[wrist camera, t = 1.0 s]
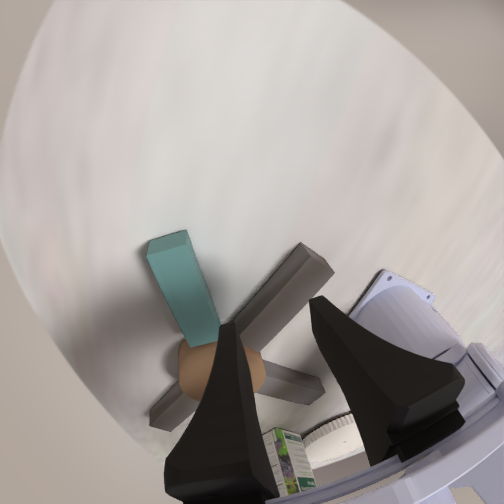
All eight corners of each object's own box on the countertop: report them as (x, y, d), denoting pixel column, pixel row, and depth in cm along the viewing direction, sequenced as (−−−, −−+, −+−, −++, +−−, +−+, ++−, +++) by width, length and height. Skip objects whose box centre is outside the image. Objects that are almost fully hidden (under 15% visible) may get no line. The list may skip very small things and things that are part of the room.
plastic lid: (363, 394, 35) (371, 408, 32) (387, 416, 41) (393, 427, 39) (279, 440, 37) (283, 455, 35) (319, 454, 44) (323, 465, 41)
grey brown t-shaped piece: (392, 308, 26) (408, 328, 24) (245, 434, 33) (250, 453, 31) (277, 225, 20) (290, 246, 17) (130, 404, 27) (129, 427, 24)
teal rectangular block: (220, 321, 23) (223, 339, 21) (189, 329, 22) (190, 347, 21) (186, 229, 18) (186, 244, 17) (149, 240, 18) (146, 256, 17)
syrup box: (301, 433, 36) (331, 519, 24) (270, 449, 37) (293, 531, 25) (276, 426, 34) (305, 524, 21) (244, 443, 35) (265, 535, 22)
